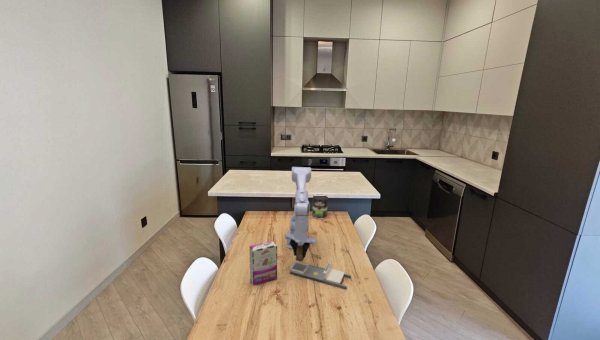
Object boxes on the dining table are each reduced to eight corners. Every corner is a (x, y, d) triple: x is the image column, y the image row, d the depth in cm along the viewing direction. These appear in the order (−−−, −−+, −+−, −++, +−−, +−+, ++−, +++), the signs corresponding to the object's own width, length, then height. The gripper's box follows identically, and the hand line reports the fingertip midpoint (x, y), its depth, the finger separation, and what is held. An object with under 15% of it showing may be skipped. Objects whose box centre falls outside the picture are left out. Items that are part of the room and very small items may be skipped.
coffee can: (326, 220, 188) (327, 200, 184) (311, 218, 189) (312, 198, 186) (327, 214, 198) (328, 195, 194) (312, 212, 199) (313, 193, 196)
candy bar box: (273, 273, 128) (273, 240, 124) (277, 279, 124) (278, 245, 120) (249, 279, 123) (249, 245, 119) (253, 285, 119) (252, 250, 115)
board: (288, 273, 128) (289, 269, 128) (296, 263, 136) (296, 259, 136) (346, 289, 119) (346, 285, 118) (350, 277, 127) (351, 273, 126)
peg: (294, 260, 128) (295, 248, 126) (297, 256, 131) (298, 244, 130) (301, 262, 126) (302, 250, 125) (305, 258, 130) (305, 246, 128)
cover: (322, 280, 122) (323, 271, 121) (328, 269, 130) (328, 261, 129) (339, 284, 120) (340, 275, 119) (344, 273, 127) (345, 265, 126)
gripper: (282, 228, 124) (281, 256, 127) (313, 235, 119) (311, 264, 122) (288, 222, 130) (288, 249, 134) (318, 228, 125) (317, 256, 128)
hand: (299, 255), depth 128 cm, fingers closed on peg, 4 cm apart
